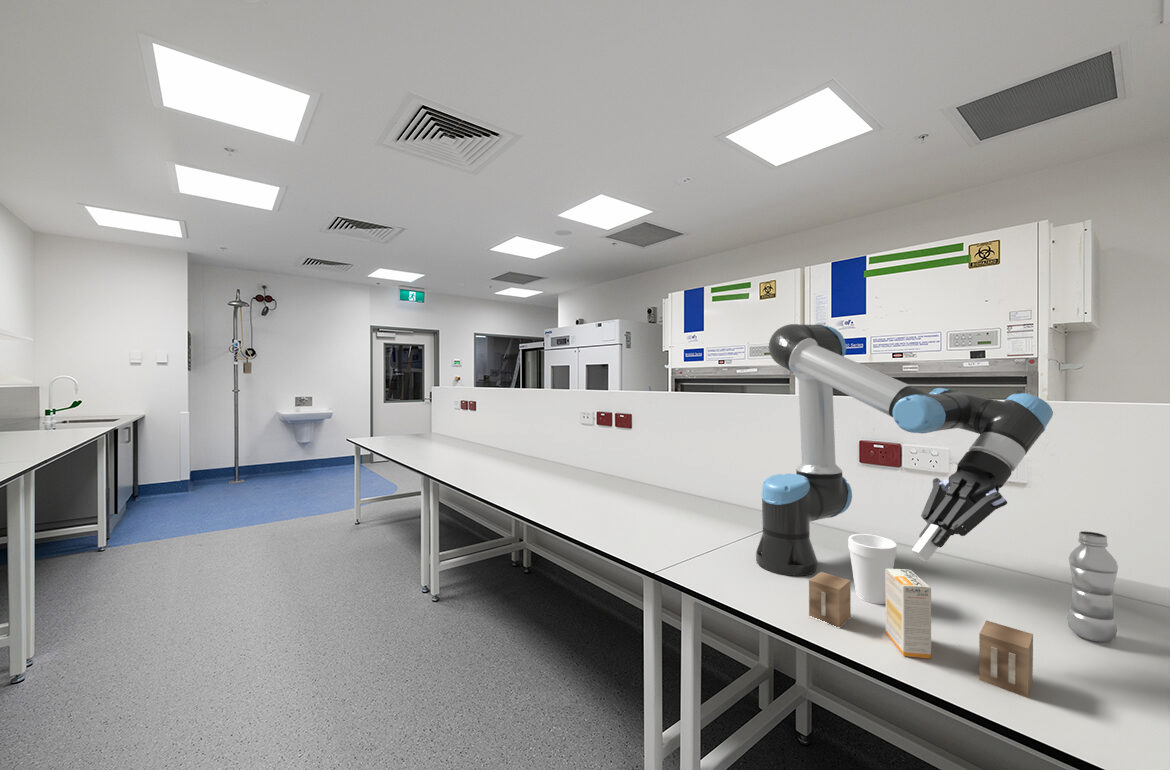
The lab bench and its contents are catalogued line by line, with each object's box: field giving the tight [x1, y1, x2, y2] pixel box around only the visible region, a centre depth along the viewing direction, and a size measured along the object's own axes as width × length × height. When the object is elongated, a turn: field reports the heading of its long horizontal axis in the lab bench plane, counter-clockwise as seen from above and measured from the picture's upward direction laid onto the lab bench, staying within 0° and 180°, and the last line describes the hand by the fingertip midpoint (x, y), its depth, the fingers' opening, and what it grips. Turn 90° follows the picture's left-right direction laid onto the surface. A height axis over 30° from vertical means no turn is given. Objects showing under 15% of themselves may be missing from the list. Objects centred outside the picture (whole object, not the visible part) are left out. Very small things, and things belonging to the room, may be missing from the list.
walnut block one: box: [808, 571, 852, 628], centre depth 100 cm, size 6×6×8 cm
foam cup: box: [847, 533, 898, 605], centre depth 108 cm, size 10×9×13 cm
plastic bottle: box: [1066, 530, 1119, 643], centre depth 91 cm, size 6×7×20 cm
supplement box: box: [885, 568, 932, 659], centre depth 89 cm, size 8×5×13 cm, turn 168°
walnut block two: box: [978, 620, 1034, 699], centre depth 79 cm, size 6×6×8 cm
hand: (919, 555), depth 89 cm, fingers closed
